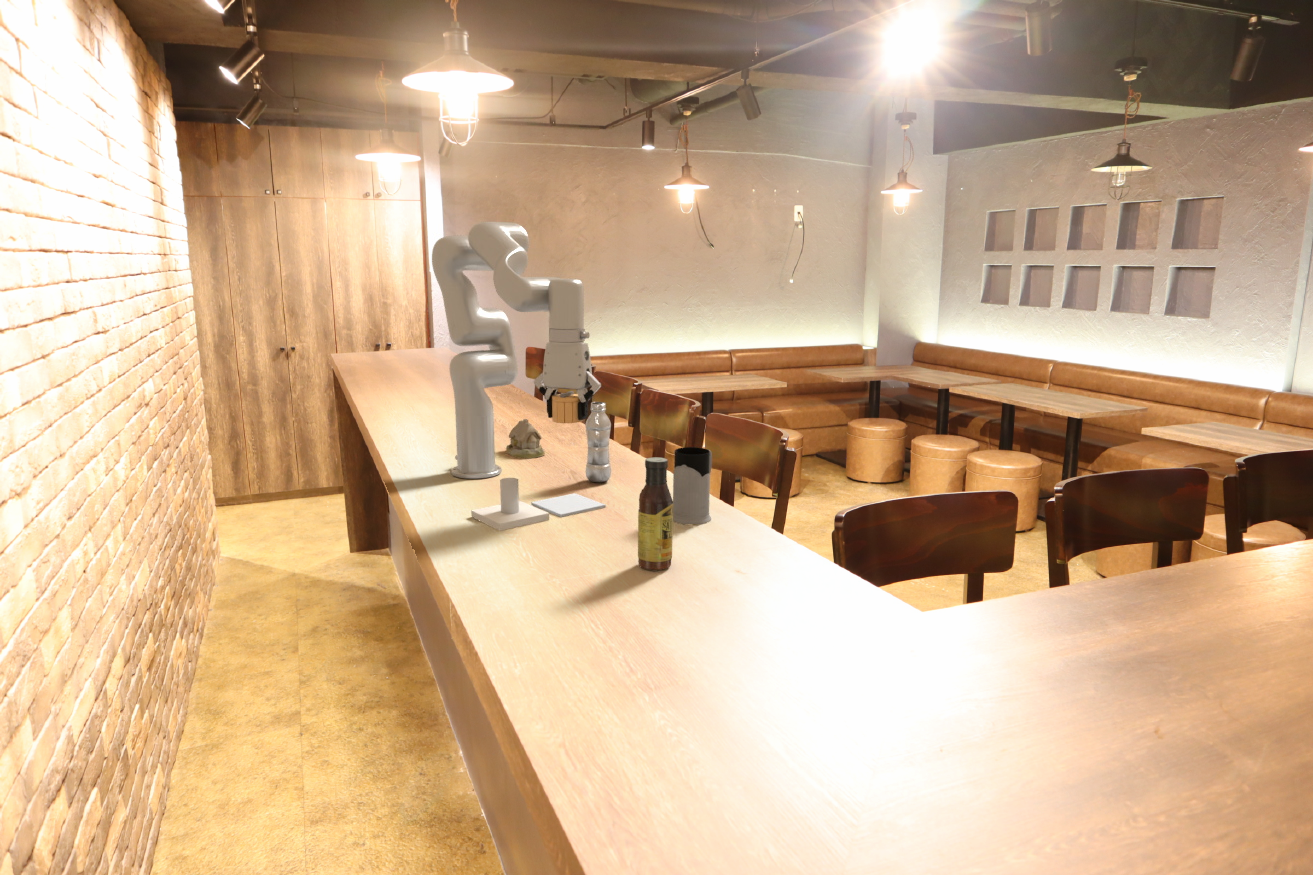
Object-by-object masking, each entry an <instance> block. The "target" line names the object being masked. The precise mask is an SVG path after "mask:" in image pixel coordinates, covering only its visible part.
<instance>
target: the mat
mask: <svg viewBox="0 0 1313 875" xmlns="http://www.w3.org/2000/svg"><path fill="white" fill-rule="evenodd" d="M530 505H531V506H534V507H536V508H538V509H541V510H543V511H545V512H548V513H549V514H552V515H555V516H557V517H560V518H563V517H568V516H573V515H577V514H581V513H586V512H590V511H595V510H599V509H600V510H601V509H604V508H606V507H607V506H606V504H604V503H602V502H599V501H597V500H594V499H592V498H589V497H586V496H583V495H581V494H578V493H575V492H573V493H570V494H565V495H564V494H563V495H560V496H553V497H549V498H544V499H540V500H536V501H531V502H530Z"/></svg>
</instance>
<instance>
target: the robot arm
mask: <svg viewBox="0 0 1313 875" xmlns="http://www.w3.org/2000/svg"><path fill="white" fill-rule="evenodd" d="M529 249H530V238H529V235H528V232H527V231H526V229H525V228H524V227H523V226H522V225H520V224H519V223H516V222H507V221H505V222H504V221H503V222H501V221H481V222H478V223H476V224H474V225H473V226H472V227H471V228H470V230H469V232H468V235H466V234H465V235H461V234H460V235H458V234H457V235H447V236H444V237H440V238H439V239H438V240H436V242H435V244H434V245H433V247H432V252H431V266H432V270H433V274H434V276H435V279H436V281H437V284H438V286H439V289H440V291H441V295H442V299H443V306H444V311H445V318H446V324H447V327H448V328H447V329H448V334H449V336H450V340H451V341H452V343H453V344H454V345H456V346H460V347H479V346H488V349H480V350H478V349H477V350H470V351H469V350H468V351H462V352H459V353H457V354H455V355H454V356H453V357H452V359H451V361H450V362H449V367H448V369H449V376H450V379H451V385H452V388H453V389H452V390H453V396H454V410H455V411H454V414H455V433H456V436H455V437H456V455H455V456H454V460H456V462H457V465H456V466H454V467H453V468H452V469H451V475H452V476H453V477H455V478H460V479H461V478H462V479H469V480H470V479H472V480H473V479H486V478H492V477H495V476H498V475H500V474H501V473H502V467H501V466H500V465H498V464H496V456H495V455H496V454H495V453H496V451H495V450H496V449H495V447H496V445H495V422H494V421H495V420H494V419H495V418H494V414H495V413H494V404H493V401H492V400H491V398H490V396H489V395H488V393H487V392H486V390H485V389H488V388H493V387H494V388H495V387H496V388H497V387H503V386H508V385H511V384H513V383H514V382H515V381H516V379H517V377H518V374H519V372H518V371H519V365H518V358H517V354H516V353H517V352H516V346H515V341H514V336H513V331H512V330H513V329H512V325H511V322H510V319H509V317H508V315H507V314H506V313H505V312H504V311H503V310H502V309H499V308H497V307H481V306H480V302H479V298H478V292H477V288H476V287H475V285H474V284H473V283H472V281H471V280H470V279H469V277H468V276H466V275H465V273H464V271H473V272H475V271H476V272H477V271H483V272H485V271H488V272H489V271H493V275H492V276H493V277H492V278H493V279H492V280H493V284H494V285H493V286H494V289H495V292H496V294H497V295H498V297H499V298H500V299H502V301H503V302H504V303H505V304H506V305H507V306H509V307H510V308H511V309H513V310H514V311H517V312H521V313H535V312H544V313H546V312H548V342H546V345H545V349H544V350H545V351H544V356H543V366H542V367H543V368H542V372H541V373H540V374H539V375H538V376H537V377H536V378H535V379H534V380H533V384H534V385H535V387H536V388H537V389H538V391H539V392H540V393H541V394H542V396H543V397H544V398H543V399H545V401H546V412H547V418H549V419H552V396H553V395H556V394H557V391H558V390H570V391H575V392H576V394H578V396H579V399H580V402H578V420H583V421H584V420H587V419H588V417H587V416H588V415H589V401H591V399H592V397H593V396H594V395H595V394H596V393H597V392H598V391H599V390H600V388H601V387H602V383H601V382H599V380H598V379H597V378H596V377H595V376H594V375H593V372H592V371H593V370H592V368H593V367H592V361H591V360H592V359H591V354H590V349H589V344H588V343H586V342H585V340H586V339H589V338H590V337H591V336H590V332H589V331H585V330H586V329H585V321H584V320H585V319H584V316H585V313H584V312H585V308H584V306H585V305H584V304H585V303H584V297H585V296H584V284H583V282H582V281H581V280H580V279H576V278H562V277H558V276H557V277H556V276H522V275H523V274H524V272H525V271H526V269H527V267H528V265H529V256H528V251H529ZM588 388H589V390H588Z"/></svg>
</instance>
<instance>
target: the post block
mask: <svg viewBox="0 0 1313 875" xmlns="http://www.w3.org/2000/svg"><path fill="white" fill-rule="evenodd" d="M499 483H500V484H499V485H500V486H499V489H500V492H499V494H500V504H496V505H490V506H486V507H481V508H476V509H471V513H470V514H471V516H472V517H471V518H473V517H474V518H473V519H475V520H477V519H478V520H477V521H479V520H480V521H479V522H481V521H482V522H481V523H483V522H484V523H483V524H485V525H487V526H489V527H491V528H493V529H495V530H497V531H506V530H510V529H514V528H519V527H523V526H528V525H532V524H537V523H542V522H546V521H549V520H550V512H548V511H545V510H543V509H540V508H538V507H536V506H533V505H531V504H529V503H526V502H524V501H521V500H520V499H519V497H520V491H519V479H518V478H517V477H504V478H501V479H499Z"/></svg>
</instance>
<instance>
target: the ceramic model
mask: <svg viewBox="0 0 1313 875" xmlns="http://www.w3.org/2000/svg"><path fill="white" fill-rule="evenodd" d="M508 438H509V439H510V444H507V445H506V448H505V454H507V455H509V456H512V457H514V458H519V459H534V458H540V457H543V456H544V455H545V454H546V452H545V449H544V448H543V446H542V444H540V441H541V440H542V439H543V438H542V435H541V433H540V432H539V430H537V429H536V428H535V427H534V426H533V424H532V423H531V422H529V419H527V418H523V420H519V421H518V422H517V424H516V425H515V426H514V427H513V428H512V429H511V430H510V432H509V434H508Z"/></svg>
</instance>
